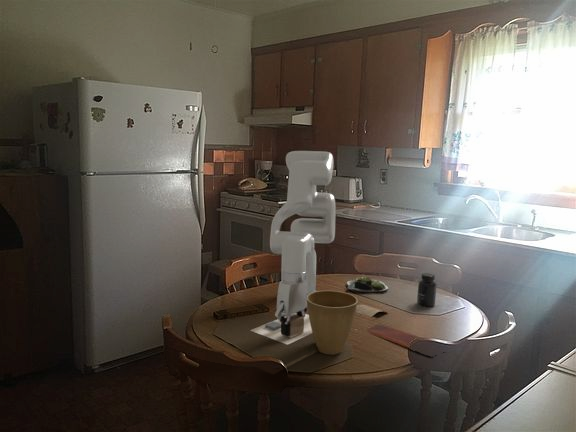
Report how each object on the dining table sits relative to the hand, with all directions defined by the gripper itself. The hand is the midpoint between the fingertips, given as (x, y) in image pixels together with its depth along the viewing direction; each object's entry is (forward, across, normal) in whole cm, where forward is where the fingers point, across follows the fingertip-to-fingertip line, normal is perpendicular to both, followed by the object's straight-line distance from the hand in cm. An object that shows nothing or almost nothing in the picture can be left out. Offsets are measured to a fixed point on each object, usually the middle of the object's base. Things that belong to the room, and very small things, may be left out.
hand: (292, 331), depth 148 cm
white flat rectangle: (+2, -5, -4) cm, 7 cm away
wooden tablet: (+3, -24, +27) cm, 36 cm away
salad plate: (+3, -62, -11) cm, 63 cm away
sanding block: (+1, 0, 0) cm, 1 cm away
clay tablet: (+3, -35, +6) cm, 36 cm away
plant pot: (+2, -1, +14) cm, 14 cm away
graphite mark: (+1, 0, -8) cm, 8 cm away
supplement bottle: (+2, -60, +17) cm, 62 cm away
